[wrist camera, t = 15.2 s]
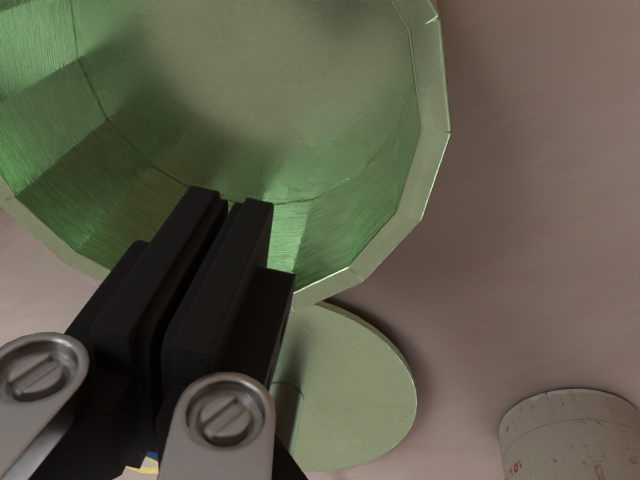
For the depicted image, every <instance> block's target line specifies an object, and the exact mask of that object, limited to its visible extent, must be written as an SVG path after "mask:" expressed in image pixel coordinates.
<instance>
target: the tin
mask: <svg viewBox="0 0 640 480" xmlns="http://www.w3.org/2000/svg"><path fill="white" fill-rule="evenodd" d="M450 136H451V118H450V108H449V97H448V87H447V76H446V66H445V55H444V45H443V35H442V24H441V18H440V14H439V10H438V6H437V2H436V0H0V207H2V208H3V209H4V210H5V211H6V212H7V213H8V214H10V215H11V216H12V217H13V218H14V219H15V220H16V221H18V222H19V223H20V224H21V225H22V226H23V227H24V228H26V229H27V230H28V231H29V232H30V233H31V234H32V235H34V236H35V237H36V238H37V239H38V240H39V241H40V242H42V243H43V244H44V245H45V246H46V247H47V248H48V249H50V250H51V251H52V252H53V253H54V254H55V255H56V256H58V257H59V258H60V259H61V260H62V261H63V262H64V263H66V264H68V265H69V266H71V267H73V268H75V269H77V270H79V271H81V272H83V273H85V274H87V275H89V276H91V277H93V278H95V279H97V280H99V281H101V282H103V281H104V280H105V278H106V277H107V276H108V274H109V273H110V272H111V270H112V269H113V268H114V266H115V265H116V264H117V263H118V261H119V260H120V259H121V257H122V256H123V255H124V253H125V252H126V251H127V249H128V248H129V247H130V245H131V244H132V243H133V242H134V241H137V240H142V241H147V242H151V240H152V239H153V237H154V236H155V235H156V233H157V232H158V230H159V229H160V228H161V226H162V225H163V223H164V222H165V220H166V219H167V218H168V216H169V215H170V213H171V212H172V211H173V209H174V208H175V206H176V205H177V204H178V202H179V201H180V199H181V198H182V196H183V195H184V194H185V192H186V191H187V189H188V188H189V187H190V186H197V187H202V188H207V189H211V190H216V191H219V192H220V199H224V200H227V201H228V214H229V212H230V210H231V208H232V206H233V204H234V203H235V202H237V203H242V204H243V203H244V201H245V199H246V198H247V197H248V198H253V199H258V200H262V201H267V202H271V203H274V214H273V222H272V230H271V237H270V245H269V253H268V260H267V268H271V269H275V270H280V271H284V272H289V273H293V274H296V281H295V287H294V292H293V298H292V303H291V309H290V313H293V312H295V311H296V312H297V311H300V310H302V309H304V308H306V307H309V306H311V305H313V304H315V303H317V302H320V301H322V300H324V299H326V298H329V297H331V296H333V295H335V294H337V293H340V292H342V291H344V290H346V289H349V288H351V287H353V286H355V285H357V284H360V283H362V282H363V281H364V280H366V279H367V278H368V277H369V276H370V275H371V274H372V273H373V272H374V271H375V270H376V269H377V268H378V267H379V266H380V264H381V263H382V262H383V261H384V260H385V259H386V258H387V257H388V256H389V255H390V254H391V253H392V252H393V251H394V250H395V248H396V247H397V246H398V245H399V244H400V243H401V242H402V241H403V240H404V239H405V238H406V237H407V236H408V235H409V234H410V232H411V231H412V230H413V229H414V228H415V227H416V226H417V225H418V224H419V223H420V221H421V220H422V218H423V215H424V212H425V209H426V206H427V203H428V201H429V198H430V195H431V192H432V189H433V186H434V183H435V180H436V177H437V174H438V171H439V168H440V165H441V162H442V159H443V156H444V153H445V151H446V148H447V145H448V142H449V139H450Z"/></svg>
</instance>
